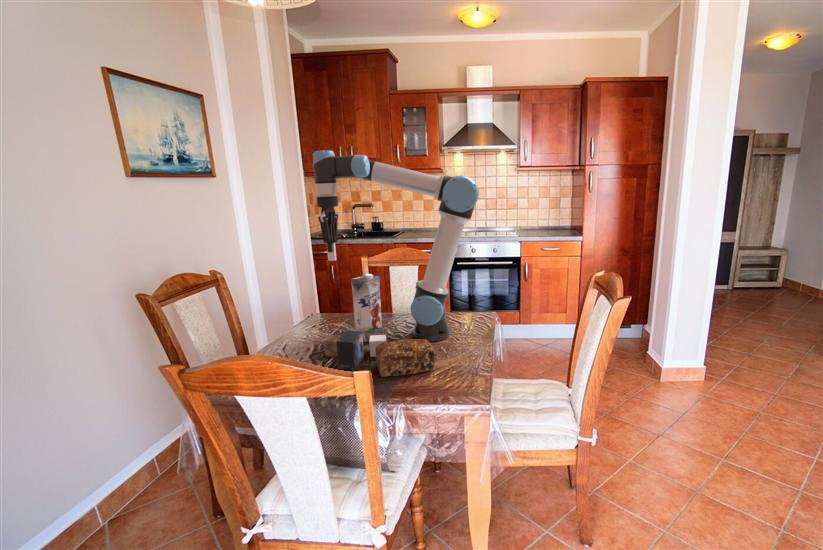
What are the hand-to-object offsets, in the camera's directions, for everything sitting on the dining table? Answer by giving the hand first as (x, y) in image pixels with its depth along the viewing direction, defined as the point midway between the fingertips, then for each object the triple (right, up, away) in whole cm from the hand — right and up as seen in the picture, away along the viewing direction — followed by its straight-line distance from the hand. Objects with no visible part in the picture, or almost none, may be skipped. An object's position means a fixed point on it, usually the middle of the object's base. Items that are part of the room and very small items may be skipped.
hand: (332, 260), depth 146 cm
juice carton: (+12, -32, +15) cm, 37 cm away
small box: (+8, -37, -8) cm, 39 cm away
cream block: (+17, -35, 0) cm, 39 cm away
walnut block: (+1, -35, +1) cm, 35 cm away
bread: (+27, -37, -13) cm, 48 cm away
